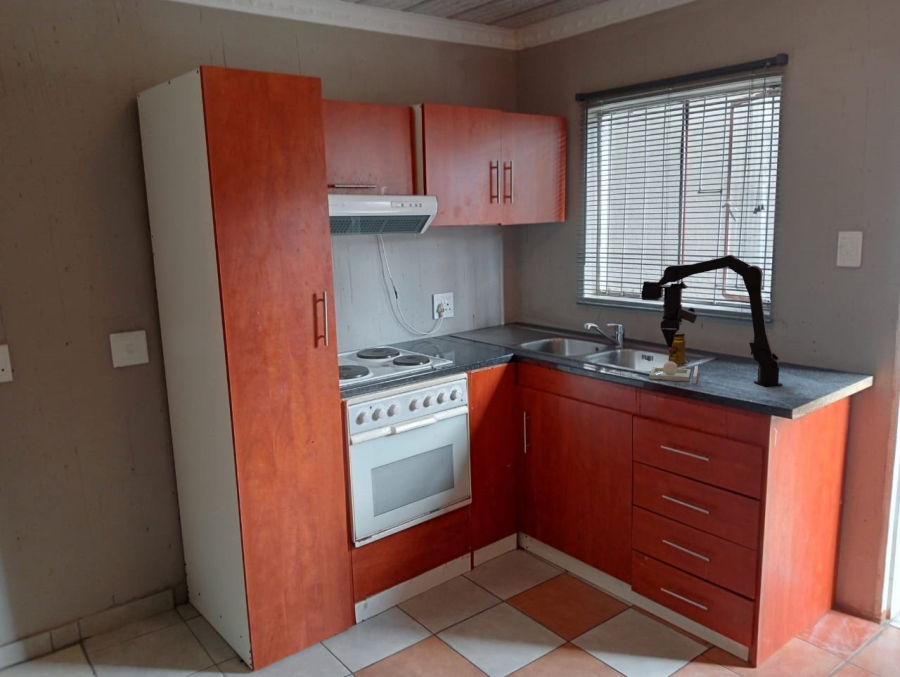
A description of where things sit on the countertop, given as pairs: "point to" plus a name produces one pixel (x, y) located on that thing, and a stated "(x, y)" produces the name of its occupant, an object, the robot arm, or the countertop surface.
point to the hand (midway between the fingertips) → (670, 345)
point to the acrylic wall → (695, 374)
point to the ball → (670, 368)
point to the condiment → (678, 350)
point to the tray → (679, 376)
